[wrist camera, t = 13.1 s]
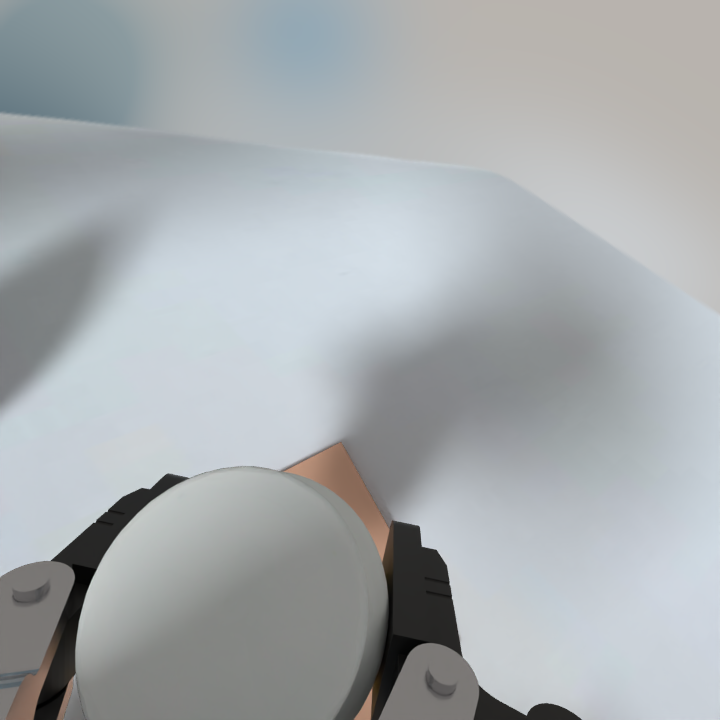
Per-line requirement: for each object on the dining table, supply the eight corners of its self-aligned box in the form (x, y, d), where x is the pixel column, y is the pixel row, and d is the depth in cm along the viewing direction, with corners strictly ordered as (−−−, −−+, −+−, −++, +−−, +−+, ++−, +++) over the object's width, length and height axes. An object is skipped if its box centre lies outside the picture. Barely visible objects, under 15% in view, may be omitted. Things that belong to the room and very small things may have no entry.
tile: (137, 549, 20) (133, 548, 20) (340, 444, 24) (341, 441, 23) (219, 830, 16) (216, 836, 15) (455, 652, 19) (458, 654, 19)
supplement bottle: (181, 564, 15) (-7, 506, 6) (324, 495, 16) (323, 375, 8) (230, 749, 12) (35, 1039, 4) (391, 649, 14) (492, 709, 6)
